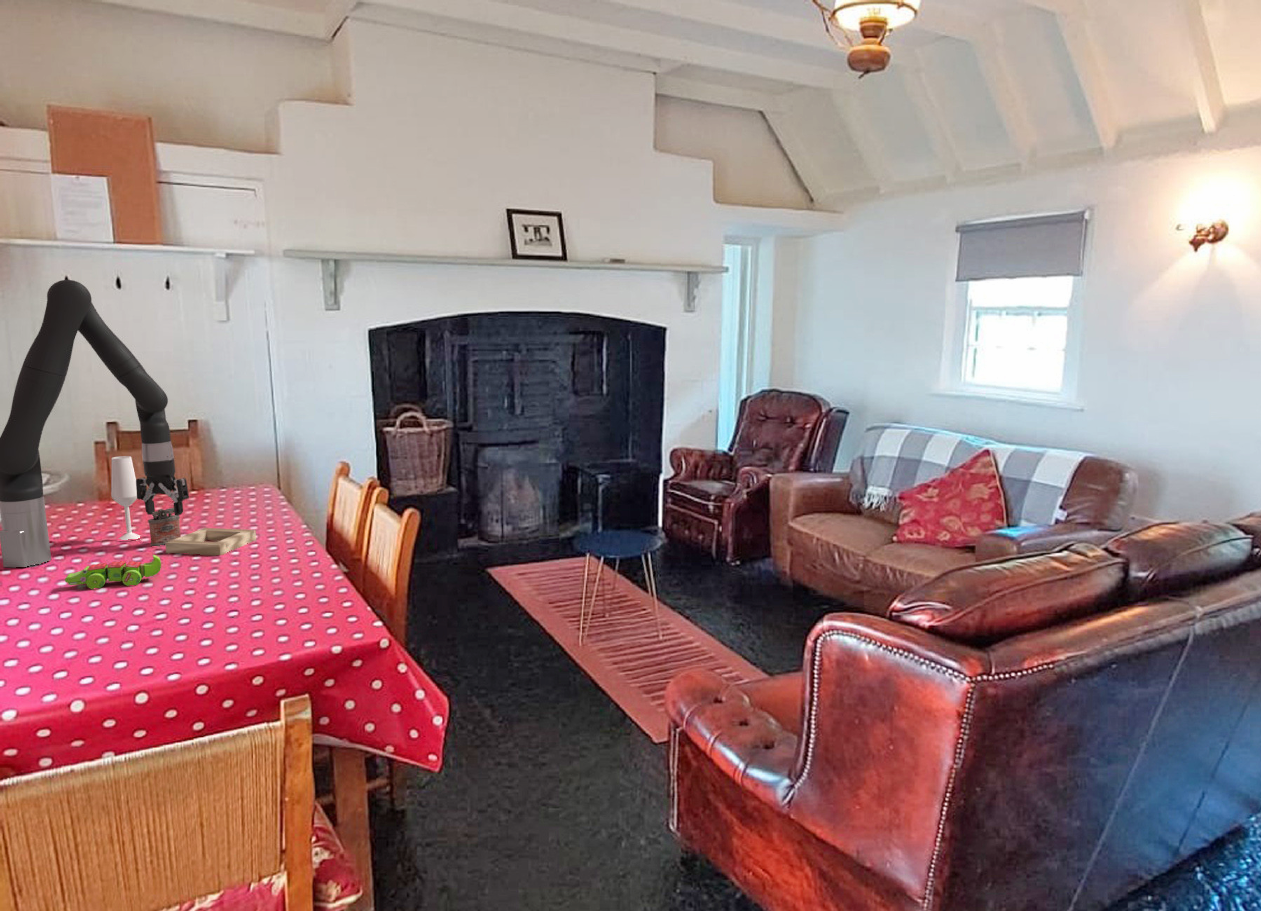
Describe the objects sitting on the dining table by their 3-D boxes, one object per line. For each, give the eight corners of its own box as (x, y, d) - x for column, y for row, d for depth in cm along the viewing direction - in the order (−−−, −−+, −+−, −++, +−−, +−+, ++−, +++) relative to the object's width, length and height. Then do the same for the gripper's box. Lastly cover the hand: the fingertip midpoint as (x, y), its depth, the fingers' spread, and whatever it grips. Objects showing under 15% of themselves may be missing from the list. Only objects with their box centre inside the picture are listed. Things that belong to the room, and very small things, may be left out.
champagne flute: (121, 543, 224) (112, 460, 221) (112, 539, 228) (103, 457, 225) (147, 538, 230) (139, 457, 226) (137, 534, 234) (129, 454, 230)
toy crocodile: (62, 593, 183) (59, 567, 182) (72, 584, 189) (69, 559, 188) (159, 584, 189) (157, 559, 188) (165, 576, 196) (163, 552, 195)
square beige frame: (220, 555, 212) (219, 544, 212) (166, 553, 214) (165, 542, 214) (256, 540, 228) (255, 529, 228) (205, 537, 230) (204, 528, 230)
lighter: (153, 547, 220) (150, 512, 218) (148, 545, 222) (145, 511, 220) (184, 541, 226) (180, 507, 225) (178, 539, 228) (175, 505, 227)
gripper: (125, 460, 218) (132, 517, 220) (172, 460, 216) (178, 518, 218) (145, 455, 225) (151, 510, 228) (190, 456, 223) (196, 511, 226)
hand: (165, 514), depth 223 cm, fingers open, 8 cm apart
